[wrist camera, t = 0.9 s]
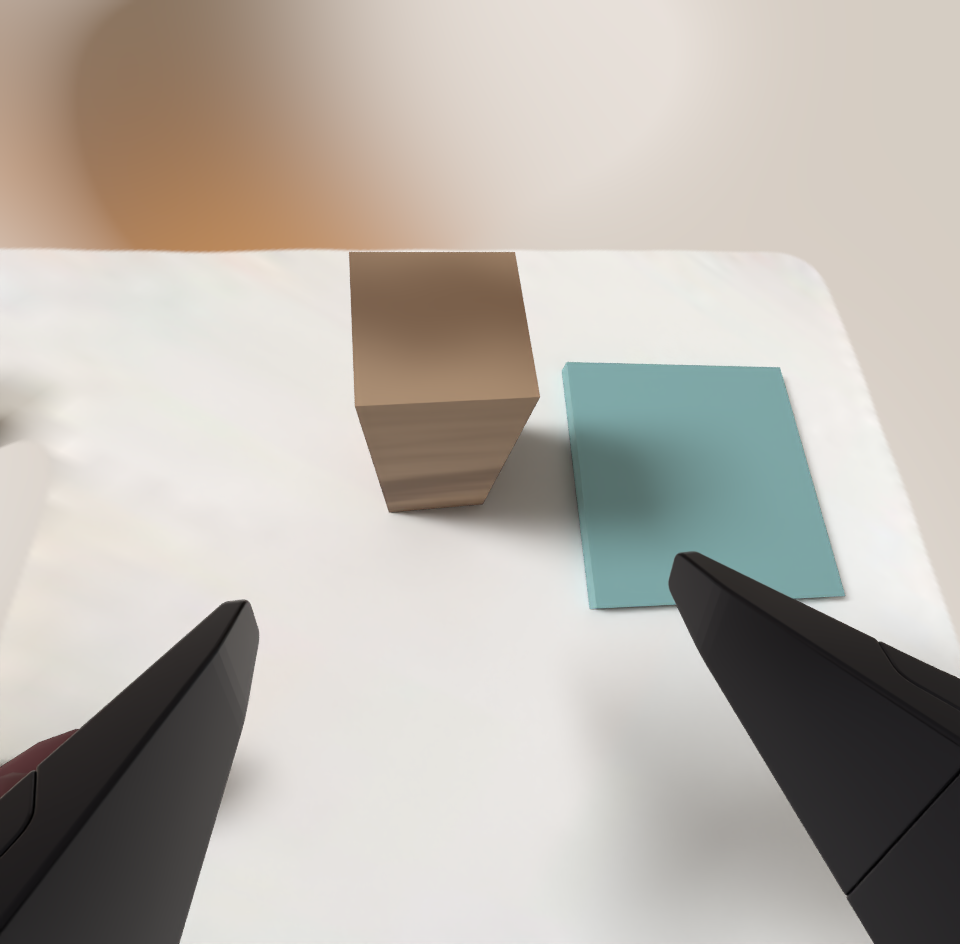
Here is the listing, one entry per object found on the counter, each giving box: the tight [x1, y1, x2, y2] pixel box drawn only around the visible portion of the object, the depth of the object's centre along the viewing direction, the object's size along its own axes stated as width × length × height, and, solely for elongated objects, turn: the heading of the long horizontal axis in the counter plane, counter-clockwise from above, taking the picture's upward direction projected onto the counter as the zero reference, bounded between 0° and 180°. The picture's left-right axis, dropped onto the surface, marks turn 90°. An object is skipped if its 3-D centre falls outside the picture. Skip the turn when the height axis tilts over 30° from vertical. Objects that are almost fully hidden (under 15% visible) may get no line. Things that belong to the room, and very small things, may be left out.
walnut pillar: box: [349, 252, 540, 512], centre depth 19 cm, size 5×5×12 cm
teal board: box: [562, 362, 845, 609], centre depth 26 cm, size 14×14×1 cm
